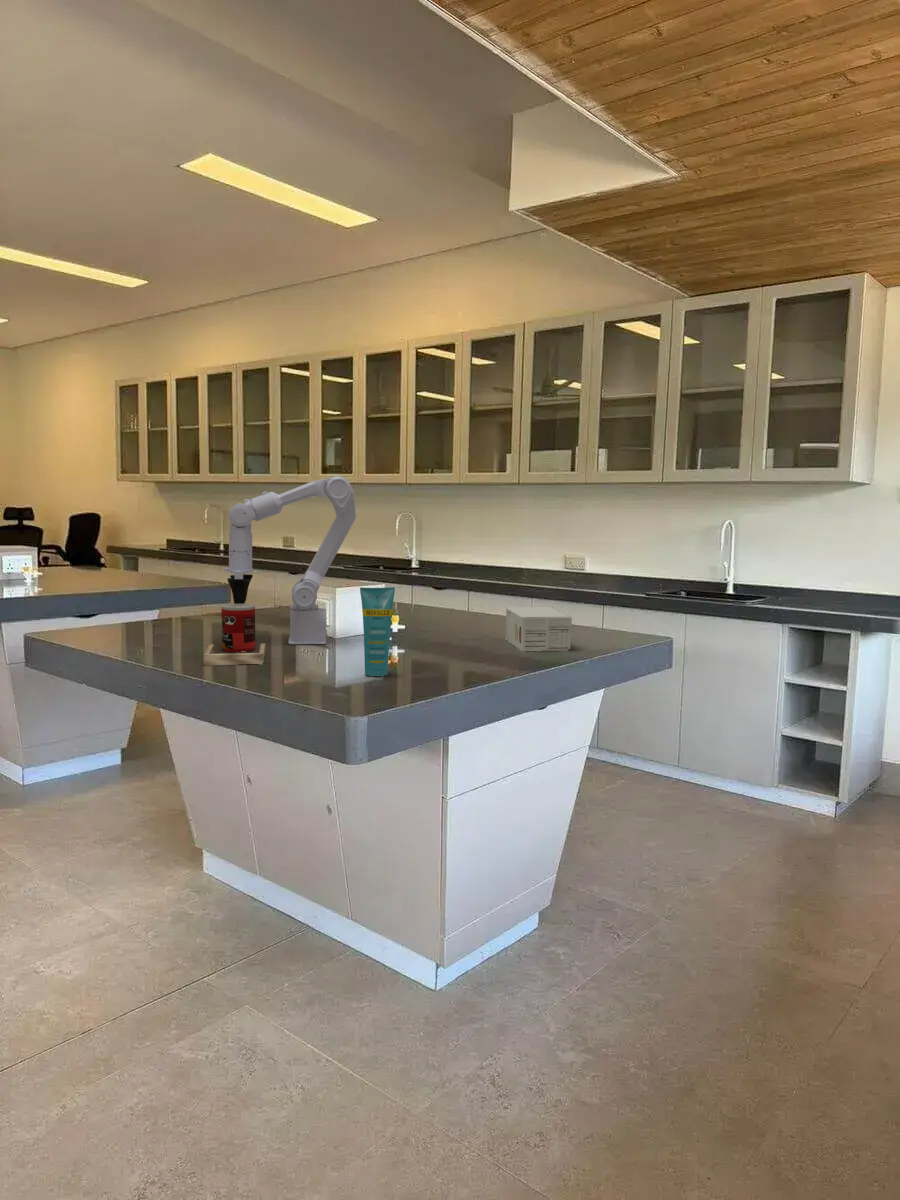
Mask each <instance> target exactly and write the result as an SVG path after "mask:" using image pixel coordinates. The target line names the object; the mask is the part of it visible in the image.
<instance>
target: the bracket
mask: <svg viewBox="0 0 900 1200" xmlns="http://www.w3.org/2000/svg"><path fill="white" fill-rule="evenodd" d="M214 647H215V644H214V643H209V644H208V646H207V648H206V650H205V651H204V654H203V666H240V665H239V664H259V665H264V664H263V663H264V662H265V658H266V657H265V656H266V643H260V646H259V652H254V653H251V652H250V653H249V652H241V653H215V648H214ZM264 657H265V658H264Z"/></svg>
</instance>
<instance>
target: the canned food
mask: <svg viewBox="0 0 900 1200" xmlns="http://www.w3.org/2000/svg"><path fill="white" fill-rule="evenodd" d="M220 615H221V647H222V648H221V649H222V650H223V651H224V652H226V651H227V652H226V653H233V652H240V653H242V652H241V651H250V652H252V651H251V650H253V651H254V650H255V648H256V606H255V604H252V603H251V604H250V603H244V604H234V603H228V604H223V605H221V614H220Z"/></svg>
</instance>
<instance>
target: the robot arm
mask: <svg viewBox="0 0 900 1200" xmlns="http://www.w3.org/2000/svg"><path fill="white" fill-rule="evenodd" d="M325 496H327V498H328V499H329V501H330V502H331V503H332V506H333V509H334V512H335V513H334V514H335V518H334V520H333V522H332V523H331V525H330V527H329V529H328V531H327V533H326V535H325V536H324V538H323V540H322V542H321V544H320V546H319V547H318V550H317V551H316V553H315V555H314V556H313V558H312V561H311V562H310V564H309V566H308V568H307V570H306V571H305V572H304V574H303V576H302V577H301V579H300V580H299V581H297V582H295V584H294V585H293V586H292V589H291V600H292V603H293V604H291V605H290V606H289V628H290V629H289V632H290V633H289V634H290V635H289V637H288V645H326V644H327V637H328V629H327V609H326V608H324V607H323V608H320V607H319V605H318V604H317V603H316V602H317V601H318V600H317V599H318V590H319V589H320V587H321V585H322V582H323V579H324V577H325V576H326V574H327V572H328V571H329V568H330V566H331V565H332V563H333V561H334V560H335V557H336V555H337V553H338V552H339V550H340V548H341V547H342V545H343V543H344V541H345V538H346V537H347V535H348V533H349V531H350V530H351V527H352V526H353V524H354V522H355V520H356V518H357V513H356V503H355V502H356V501H355V492H354V489H353V487H352V485H351V483H350V481H349V480H348V479H347V478H345V477H344V476H340V475H337V476H336V475H335V476H332V477H330V478H323V479H318V480H313V481H310V482H308V483H305V484H302V485H300V486H298V487H295V488H293V489H289V490H287V491H285V492H282V493H279V494H278V493H276V492H274V491H270V492H268V491H266V490H265V491H263V492H262V493H261V495H258V496H256V497H253V498H250V499H248V498H245V499H243V501H244V503H243V502H239V503H235V505H232V507H230V509H229V510H228V521H229V522H230V523H229V525H228V526H229V533H228V567H224V569H223V571H224V572H228V573H231V574H232V575H230V576H229V577H228V578H227V582H228V584H229V586H230V591H231V593H232V598H233V599H232V600H233V604H246V601H247V597H248V591H249V586H250V584H251V582H252V578H253V574H251V573H253V571H254V568H253V532H252V521H255V522H259V521H261V520H265V519H268V518H270V517H273V516H276V515H278V514H280V513H282V509H283V508H284V506H287V505H291V504H294V503H296V502H299V501H301V500H304V499H308V498H311V497H316V498H317V497H320V498H325Z"/></svg>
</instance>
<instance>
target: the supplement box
mask: <svg viewBox="0 0 900 1200" xmlns="http://www.w3.org/2000/svg"><path fill="white" fill-rule="evenodd" d="M505 609H506V611H505V612H506V613H505V641H506V640H507V641H506V642H508V643H509V644H510V643H511V644H512V646H513V645H514V646H515V647H517V648H518V649H520V650H521V651H542V650H566V649H570V650H571V645H572V644H571V641H572V640H571V639H572V623H573V622H572V620H573V618H572V616H571V615H569V614H566V613H564V612H562V611H560V610H559V609H556V608H554V607H553V606H507V607H505ZM511 644H510V645H511ZM514 646H513V647H514ZM515 647H514V648H515ZM517 648H516V649H517ZM518 649H517V650H518ZM520 650H519V651H520ZM521 651H520V652H521Z"/></svg>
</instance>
